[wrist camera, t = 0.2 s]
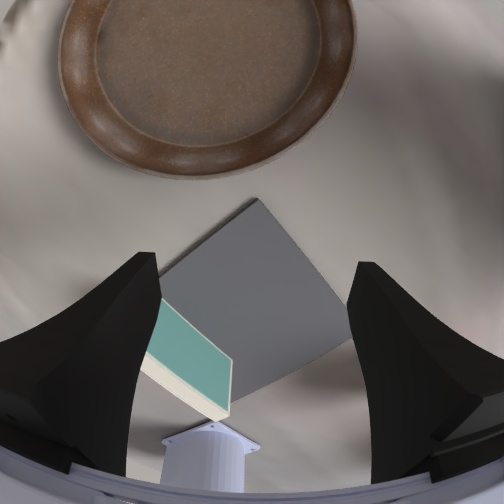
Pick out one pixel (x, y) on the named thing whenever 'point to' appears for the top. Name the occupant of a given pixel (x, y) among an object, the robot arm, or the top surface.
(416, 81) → the top surface
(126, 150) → the plant saucer
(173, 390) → the slab
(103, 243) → the top surface
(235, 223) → the mat
